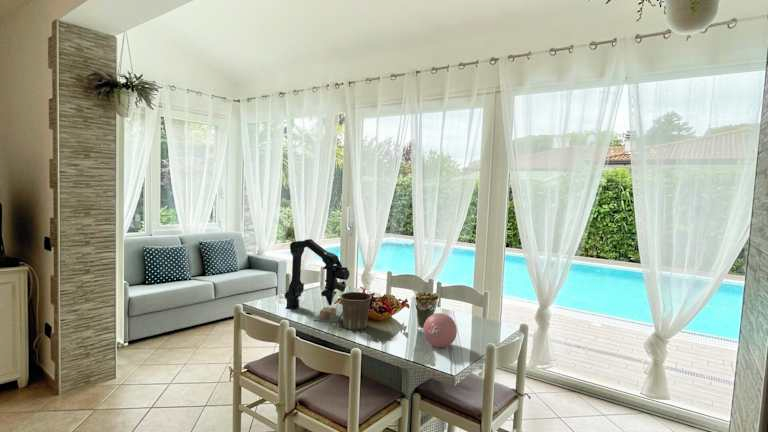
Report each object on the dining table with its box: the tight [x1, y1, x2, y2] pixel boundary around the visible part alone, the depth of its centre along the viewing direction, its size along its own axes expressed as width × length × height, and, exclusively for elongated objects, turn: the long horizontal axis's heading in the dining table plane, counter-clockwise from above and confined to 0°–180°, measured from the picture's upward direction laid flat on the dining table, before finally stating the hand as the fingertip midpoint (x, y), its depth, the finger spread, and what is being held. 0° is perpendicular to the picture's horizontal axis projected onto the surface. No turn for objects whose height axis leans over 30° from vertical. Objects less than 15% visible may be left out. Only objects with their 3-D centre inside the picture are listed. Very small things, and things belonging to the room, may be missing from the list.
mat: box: [313, 310, 343, 323], centre depth 226 cm, size 12×18×1 cm, turn 174°
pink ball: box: [422, 312, 458, 349], centre depth 185 cm, size 15×20×15 cm
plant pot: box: [340, 291, 373, 331], centre depth 211 cm, size 16×16×16 cm
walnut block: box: [319, 306, 337, 320], centre depth 223 cm, size 7×4×9 cm
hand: (330, 305), depth 227 cm, fingers closed
